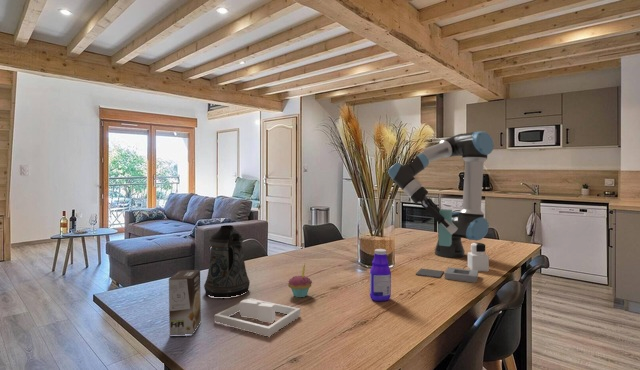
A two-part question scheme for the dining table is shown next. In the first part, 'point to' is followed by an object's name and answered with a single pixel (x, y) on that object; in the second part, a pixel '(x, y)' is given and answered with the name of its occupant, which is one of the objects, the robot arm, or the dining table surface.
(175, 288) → the coffee box
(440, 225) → the plug
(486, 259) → the medicine bottle
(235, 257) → the beer stein
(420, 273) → the mat
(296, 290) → the cupcake
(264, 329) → the holder frame
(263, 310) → the napkin holder
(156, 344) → the dining table surface
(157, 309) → the dining table surface
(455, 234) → the robot arm
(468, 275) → the socket block
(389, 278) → the bottle
